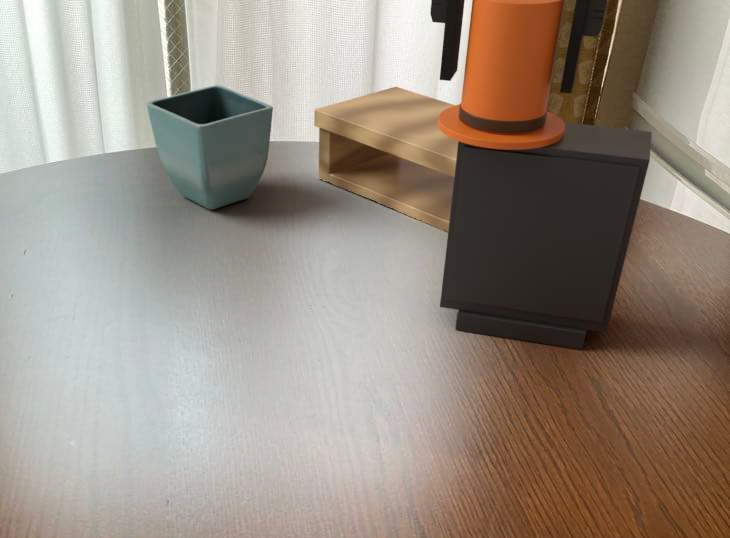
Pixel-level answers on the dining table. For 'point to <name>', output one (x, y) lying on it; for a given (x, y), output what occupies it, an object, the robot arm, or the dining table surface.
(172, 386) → the dining table surface
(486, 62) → the hat
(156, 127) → the flower pot
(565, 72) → the robot arm
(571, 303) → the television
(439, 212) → the stand
